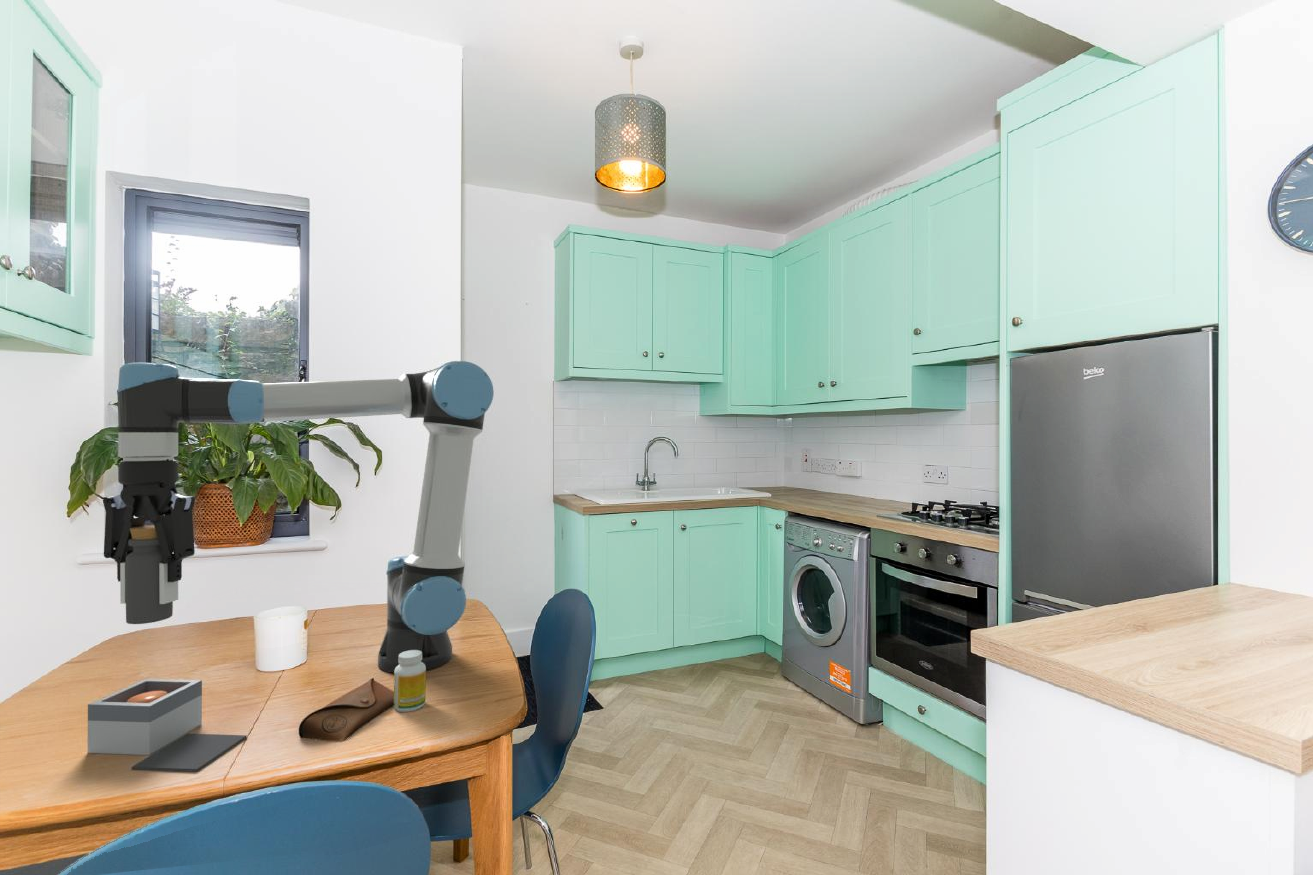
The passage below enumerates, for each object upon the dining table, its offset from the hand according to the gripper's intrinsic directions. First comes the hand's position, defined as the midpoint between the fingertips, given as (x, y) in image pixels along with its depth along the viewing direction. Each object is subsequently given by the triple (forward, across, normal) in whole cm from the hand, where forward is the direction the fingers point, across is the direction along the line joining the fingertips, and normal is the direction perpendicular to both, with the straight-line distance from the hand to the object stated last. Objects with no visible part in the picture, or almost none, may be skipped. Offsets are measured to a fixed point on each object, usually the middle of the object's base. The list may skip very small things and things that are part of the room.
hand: (149, 601), depth 98 cm
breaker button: (+22, 0, 0) cm, 22 cm away
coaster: (+22, -11, +4) cm, 25 cm away
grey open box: (+22, 0, 0) cm, 22 cm away
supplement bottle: (+23, -37, -14) cm, 45 cm away
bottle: (+3, 0, 0) cm, 3 cm away
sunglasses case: (+23, -29, -10) cm, 38 cm away
